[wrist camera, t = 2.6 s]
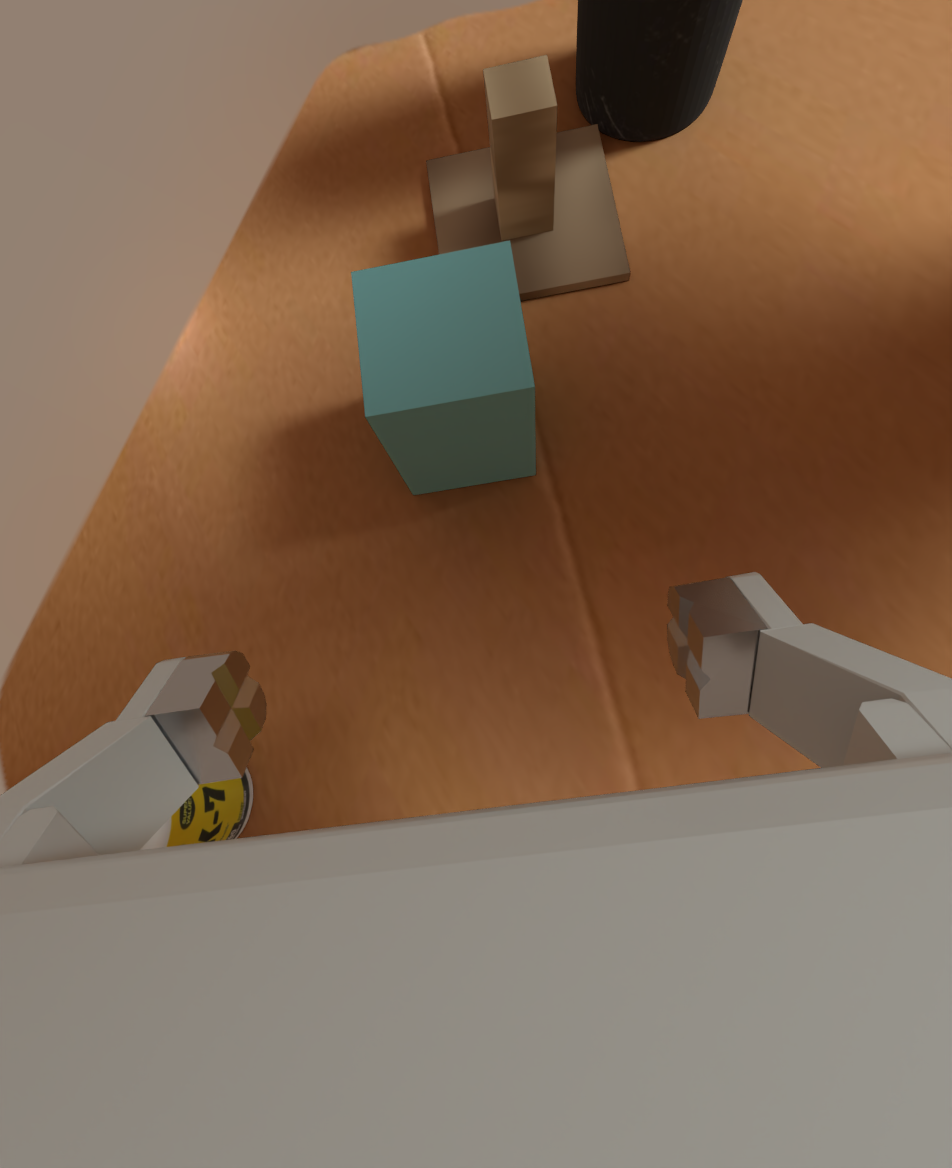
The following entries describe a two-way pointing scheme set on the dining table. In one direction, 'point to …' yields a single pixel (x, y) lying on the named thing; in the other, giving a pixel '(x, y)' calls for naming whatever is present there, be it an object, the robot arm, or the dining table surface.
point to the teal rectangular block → (448, 367)
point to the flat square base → (532, 190)
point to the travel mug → (649, 62)
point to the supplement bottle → (208, 814)
